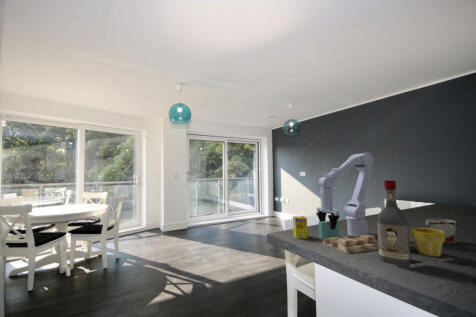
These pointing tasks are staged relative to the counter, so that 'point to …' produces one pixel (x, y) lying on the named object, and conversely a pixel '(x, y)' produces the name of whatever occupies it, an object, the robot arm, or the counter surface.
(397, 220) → the liquor
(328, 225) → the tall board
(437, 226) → the food container
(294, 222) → the supplement box
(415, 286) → the counter surface
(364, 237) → the offcut
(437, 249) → the plant pot
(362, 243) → the offcut
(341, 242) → the offcut
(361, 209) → the robot arm
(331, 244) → the rack
